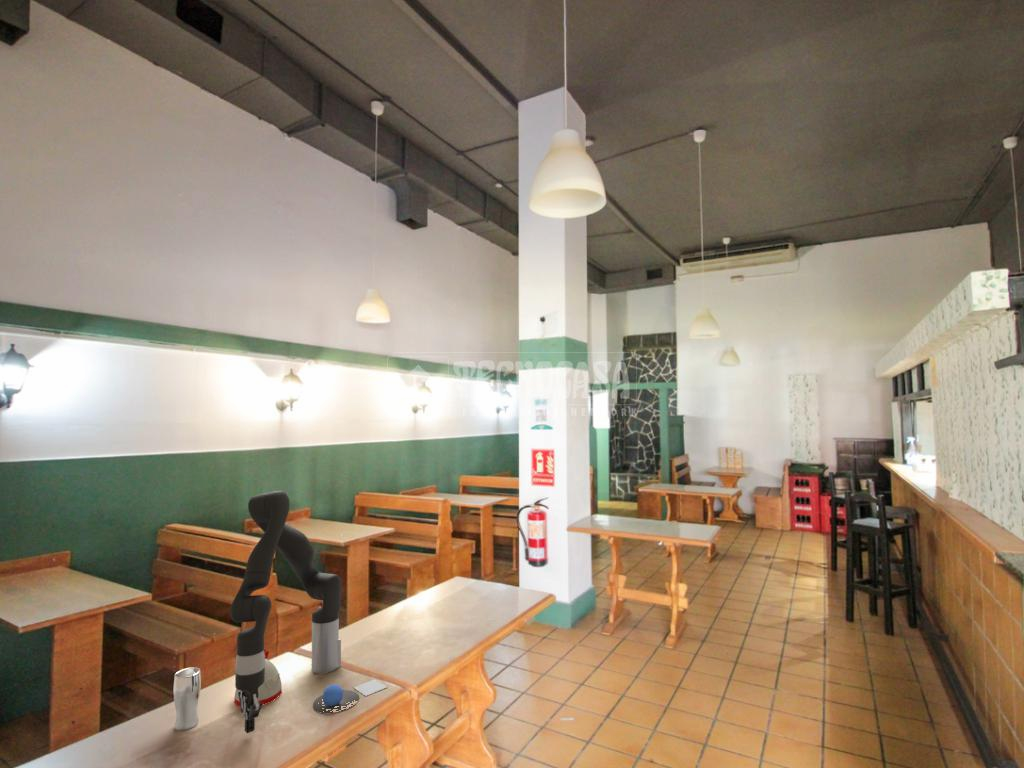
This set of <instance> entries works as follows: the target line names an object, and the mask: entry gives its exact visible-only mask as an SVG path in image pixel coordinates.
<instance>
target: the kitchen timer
mask: <svg viewBox="0 0 1024 768" xmlns="http://www.w3.org/2000/svg"><path fill="white" fill-rule="evenodd" d="M269 653H270V651H269V650H266V649H265V648H264V654H265V681H264V683H263V684H262V685H261V686H260V687H259V688H258V691H259V693H260V695H259V699H258V703H260V702H262V706H264V705H263V704H265V705H267V704H269V703H268V702H270V703H272V702H274V701H275V700H277V699H278V698H279V697H280V696H281V695H282V690H283V689H282V688H283V687H282V678H281V675H280V673H279V670H278V669H277V667H276V665H274V663H273V662H272V661H270V660H269V659H268V656H269ZM239 691H241V690H238V689H236V688H235V692H234V704H235V706H237V705H238V707H239V706H240V701H239V695H238V692H239ZM280 694H281V695H280ZM278 696H279V697H278ZM277 697H278V698H277ZM276 698H277V699H276ZM274 699H275V700H274ZM273 700H274V701H273ZM271 701H272V702H271ZM266 703H267V704H266ZM240 708H241V706H240Z"/></svg>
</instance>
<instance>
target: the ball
mask: <svg viewBox="0 0 1024 768" xmlns="http://www.w3.org/2000/svg"><path fill="white" fill-rule="evenodd" d="M343 690H344V689H343V688H342V687H341V686H340V685H339V684H335V683H334V684H330V685H328V686H327V687H326V688H325V689H324V691H323V694H322V695H323V701H324V703H325V704H326V705H328V706H336V705H337V704H339V703H340V701H341V700H342V697H343Z"/></svg>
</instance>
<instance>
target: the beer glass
mask: <svg viewBox="0 0 1024 768" xmlns="http://www.w3.org/2000/svg"><path fill="white" fill-rule="evenodd" d="M201 676H202V675H201V668H199V667H186V668H183V669H181V670H179V671H177V672H176V673H175V674H174V678H173V679H174V681H173V689H172V690H173V691H172V692H173V701H174V707H175V713H176V714H175V715H176V717H175V722H174V730H175V731H179V732H181V731H188V730H189V729H190V730H191V729H192V728H194V727H195V726H197V725H198V724H199V717H198V705H199V700H200V695H201V688H202V687H201V686H202V677H201Z"/></svg>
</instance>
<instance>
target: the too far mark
mask: <svg viewBox="0 0 1024 768" xmlns="http://www.w3.org/2000/svg"><path fill="white" fill-rule="evenodd" d="M353 689H354V690H355V689H356V690H355V691H356V692H358V691H359V692H358V693H360V694H361V693H362V694H361V695H363V696H364V695H365V696H366V697H368V696H371V695H373V694H375V692H376V693H377V692H380V691H382V690H386V689H388V686H386V684H384V683H382V682H380V681H379V680H378V679H372V680H369V681H367V682H364V683H360V684H359V685H357V686H356V685H355V686H354V687H353ZM370 694H371V695H370ZM365 696H364V697H365Z"/></svg>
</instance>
